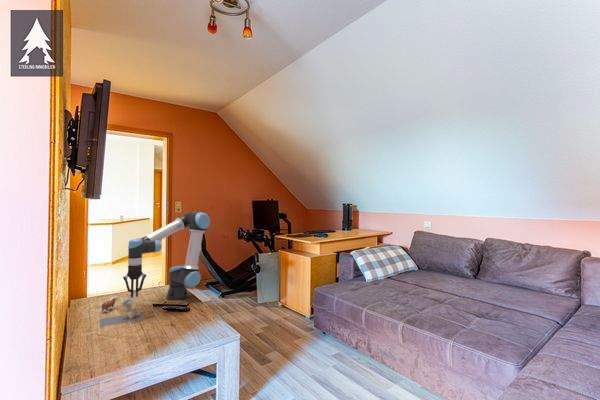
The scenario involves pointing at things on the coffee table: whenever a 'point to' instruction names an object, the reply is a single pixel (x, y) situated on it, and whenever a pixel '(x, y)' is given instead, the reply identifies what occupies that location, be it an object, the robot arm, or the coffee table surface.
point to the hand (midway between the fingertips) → (134, 302)
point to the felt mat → (119, 319)
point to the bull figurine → (109, 304)
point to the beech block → (130, 308)
